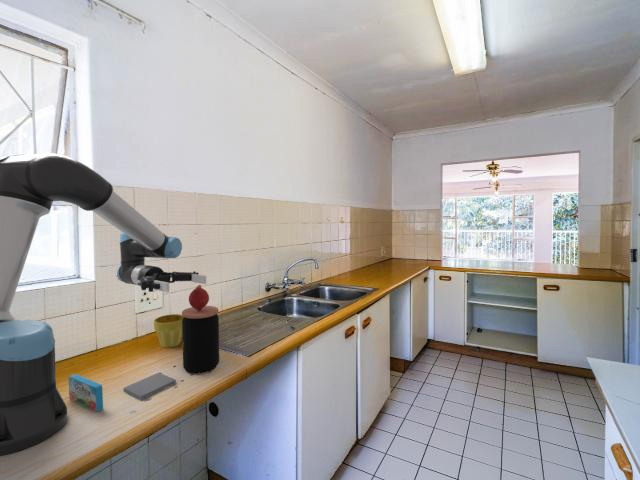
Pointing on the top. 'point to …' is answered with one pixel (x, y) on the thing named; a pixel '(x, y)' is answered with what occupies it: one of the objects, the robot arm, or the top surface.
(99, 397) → the blue flat box
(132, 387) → the slate trivet
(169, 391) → the top surface
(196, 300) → the onion
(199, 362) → the coffee jar
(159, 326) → the plant pot
